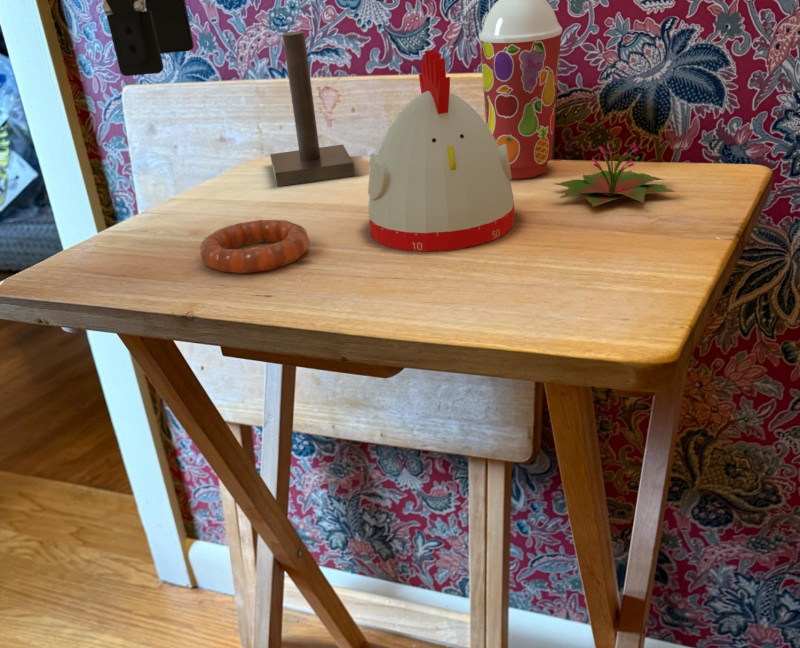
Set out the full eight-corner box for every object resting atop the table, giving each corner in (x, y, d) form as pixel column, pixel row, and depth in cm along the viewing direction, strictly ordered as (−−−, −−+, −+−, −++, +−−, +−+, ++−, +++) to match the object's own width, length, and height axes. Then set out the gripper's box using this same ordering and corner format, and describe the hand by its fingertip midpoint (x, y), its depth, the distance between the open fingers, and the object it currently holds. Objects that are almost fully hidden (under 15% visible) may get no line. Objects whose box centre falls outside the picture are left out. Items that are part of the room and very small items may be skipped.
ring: (203, 282, 79) (198, 260, 78) (203, 246, 87) (198, 225, 86) (315, 266, 80) (311, 244, 79) (304, 232, 88) (301, 211, 87)
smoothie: (538, 157, 102) (540, -50, 90) (572, 174, 96) (579, -46, 84) (470, 169, 100) (463, -40, 88) (500, 188, 94) (497, -35, 82)
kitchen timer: (384, 260, 80) (367, 75, 71) (359, 215, 90) (341, 50, 82) (533, 236, 81) (534, 52, 72) (490, 195, 92) (487, 31, 83)
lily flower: (532, 189, 93) (532, 142, 90) (636, 170, 95) (639, 124, 92) (585, 221, 83) (587, 170, 81) (698, 199, 86) (704, 149, 83)
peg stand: (277, 186, 102) (254, 43, 93) (272, 166, 109) (250, 32, 100) (354, 176, 102) (339, 33, 94) (344, 157, 110) (329, 23, 101)
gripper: (87, -205, 68) (144, 48, 78) (-7, -221, 54) (78, 88, 64) (182, -216, 67) (228, 40, 77) (113, -235, 53) (179, 79, 64)
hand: (160, 62), depth 71 cm, fingers open, 9 cm apart
